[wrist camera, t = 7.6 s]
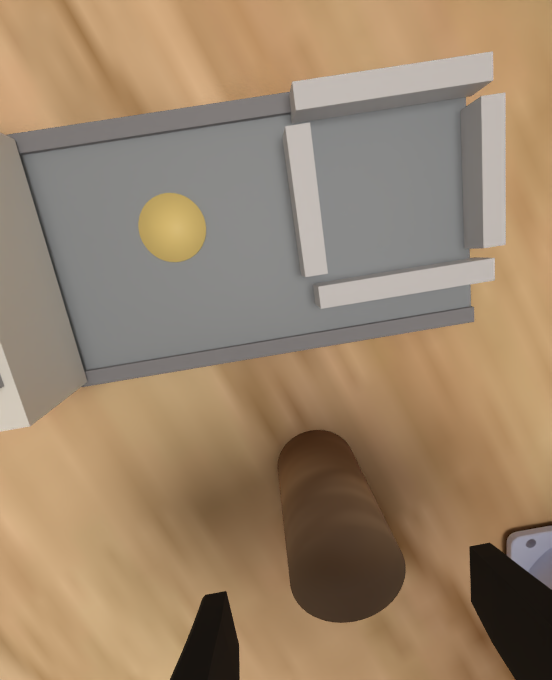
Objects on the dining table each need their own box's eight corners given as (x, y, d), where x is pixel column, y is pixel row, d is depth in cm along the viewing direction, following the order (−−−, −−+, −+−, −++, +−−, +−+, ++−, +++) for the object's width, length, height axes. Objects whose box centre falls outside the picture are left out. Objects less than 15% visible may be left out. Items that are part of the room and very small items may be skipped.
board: (465, 78, 13) (505, 46, 11) (471, 314, 16) (505, 323, 14) (-261, 189, 13) (-363, 176, 11) (-151, 417, 15) (-218, 445, 13)
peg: (349, 424, 17) (401, 517, 11) (357, 491, 17) (409, 611, 12) (272, 437, 16) (281, 538, 11) (283, 504, 17) (298, 631, 12)
